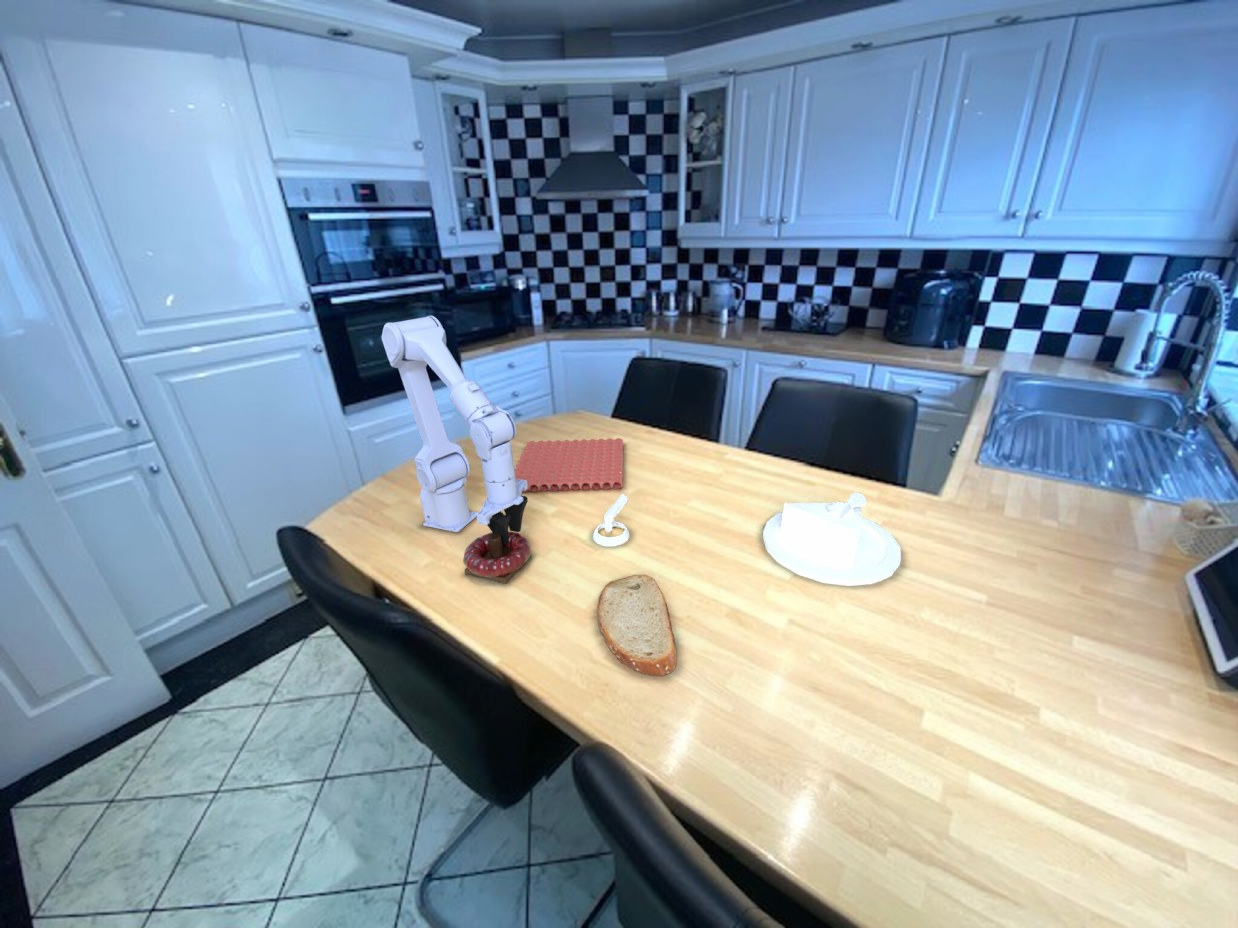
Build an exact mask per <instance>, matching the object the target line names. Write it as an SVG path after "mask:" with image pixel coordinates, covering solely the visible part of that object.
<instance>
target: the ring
mask: <svg viewBox="0 0 1238 928" xmlns="http://www.w3.org/2000/svg"><path fill="white" fill-rule="evenodd" d="M490 534H492V531H491V532H489V533H487V534H484V535H481V536H479V537H477V538H475V539H474V540H472V542H471V543H469V544H468V546H466V548H465V550H464V553H463V560H462V561H463V565H464V566H465V568H468V569H469V570H470V572H471V573H473V574H476V575H480V576H484V577H495V576H503V575H507V574H509V573H511V572H513V571H515V570H517V569H519V568H520V567H521V566H522V565H523V564H524V563H525V562H526V561H527V562H528V561H529V559H530V558H531V557H530V553H531V543H530V541H529V540H528V539H527V538H526V537H525V536H524V535H522V534H521V533H520V532H514V531H510V530H508V534H509V542H508V544H507V545H503V544H502V547H506V548H511V549H513V551H512V552H511V553H510V554H509V555H506V556H504V557H502V558H497V559H486V558H482V555H483V554H484V553H485V552H487V551H490V549H489V543H488V536H489V535H490ZM529 557H530V558H529ZM527 562H526V563H527ZM526 563H525V564H526ZM525 564H524V565H525ZM524 565H523V566H524ZM523 566H522V567H523ZM522 567H521V568H522ZM521 568H520V569H521ZM520 569H519V570H520Z"/></svg>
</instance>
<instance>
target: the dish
mask: <svg viewBox="0 0 1238 928" xmlns="http://www.w3.org/2000/svg"><path fill="white" fill-rule="evenodd" d="M866 505H867V498H866V497H865V495H864V494H862V493H860V492H852V493H850V495H849V497H848V499H847V501H846V502H845V501H836V502H835V501H833V502H784V503H783V507H782V511H781V512H778V513H776V514H775V515H773V516H772V517H771V518H770V519H768V520H767V521H766V523H765V526H764V528H763V532H762V540H763V541H762V542H763V544H764V546H765V550H766V552H767V553H768V554H769V555H770V556H771V557H772V558H773V560H775V561H776V562H777V564H779V565H781V566H782V567H783V568H786V569H788V570H790V571H791V572H792V573H795V574H796V575H798V576H801V577H803V578H807V579H811V580H813V581H816V582H819V583H822V584H829V585H838V586H845V587H854V586H865V585H874V584H877V583H880V582H881V581H883V580H886V579H888V578H891V577H892V576H893V574H894V573H895V572H896V570H897V569H898V568H899V567H900V565H901V561H902V553H901V546H900V544H899V543H898V542H897V540H896V539H895V537H894V536H893V534H892V533H891V532H890V531H888V530H886V529H885V528H884V527H882V526H881V525H879V524H878V523H877V522H875V521H872V520H870V519H868V518H866V517H864V516H862V507H866Z"/></svg>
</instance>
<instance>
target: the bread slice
mask: <svg viewBox="0 0 1238 928" xmlns="http://www.w3.org/2000/svg"><path fill="white" fill-rule="evenodd" d="M596 606H597V608H596V609H597V618H598V619H597V622H598V625H599V626H598V628H599V631H600V632H601V633H602V635H603V636H604V641H605V644H606V645H607V647H608V649H609V651H610V652H612V654H613V655H614V656H615V657H616V658H617V659H618V660H619V661H620V662H621V663H622V664H624V665H626V666H627V667H628V668H631V669H633V670H634V671H636V672H640V673H643V674H646V675H651V676H661V677H663V676H665V675H669V674H670V673H672V672H673V671H675V669H676V668H677V662H678V661H677V646H676V639H675V635H674V632H673V626H672V622H671V619H670V618H671V617H670V613H669V608H668V605H667V602H666V598H665V595H664V593H663V592H662V590H661V589H660V587H659V584H658V583H657V582H656V580H655V579H654V578H653V577H652V576H650V575H648V574H633V575H630V576H626V577H623V578H619V579H615V580H611V581H610V582H608V583H607V584H606V585H605V586H604V588H602V590H601V592H600V594H599V597H598V603H597V605H596Z"/></svg>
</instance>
